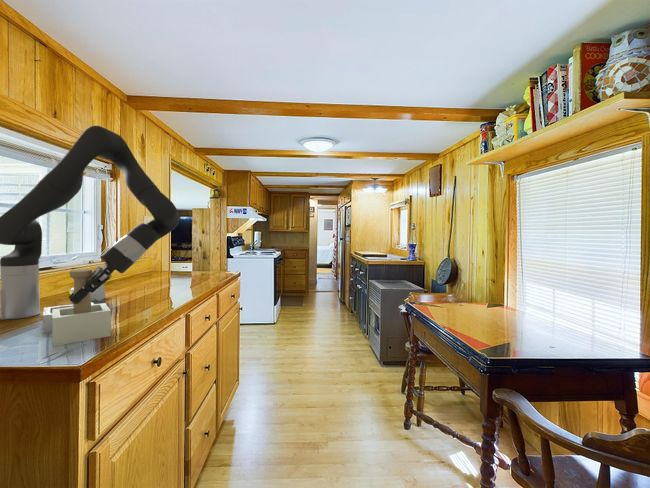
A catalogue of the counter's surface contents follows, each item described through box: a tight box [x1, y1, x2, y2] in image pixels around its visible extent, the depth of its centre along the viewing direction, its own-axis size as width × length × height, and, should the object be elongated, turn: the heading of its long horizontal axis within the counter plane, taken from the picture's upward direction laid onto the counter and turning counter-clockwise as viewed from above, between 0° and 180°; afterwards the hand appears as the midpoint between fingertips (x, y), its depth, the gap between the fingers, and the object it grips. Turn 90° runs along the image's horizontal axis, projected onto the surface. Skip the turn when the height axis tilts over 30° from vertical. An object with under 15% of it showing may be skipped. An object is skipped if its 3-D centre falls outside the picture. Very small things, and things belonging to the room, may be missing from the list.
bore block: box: [42, 301, 94, 334], centre depth 95 cm, size 12×12×5 cm
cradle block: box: [52, 302, 112, 347], centre depth 85 cm, size 12×12×7 cm
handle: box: [69, 268, 93, 314], centre depth 85 cm, size 5×6×15 cm
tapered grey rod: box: [93, 283, 106, 304], centre depth 116 cm, size 3×25×15 cm, turn 35°
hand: (72, 300), depth 84 cm, fingers closed on handle, 3 cm apart
